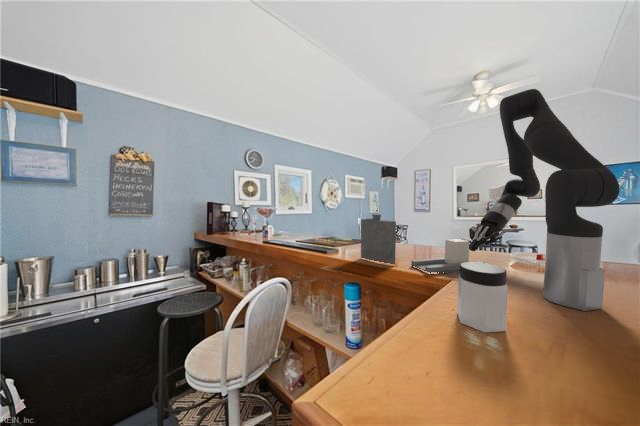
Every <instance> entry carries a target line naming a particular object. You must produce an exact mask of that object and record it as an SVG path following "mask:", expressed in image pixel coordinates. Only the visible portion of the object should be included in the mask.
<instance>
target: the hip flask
mask: <svg viewBox="0 0 640 426" xmlns="http://www.w3.org/2000/svg"><path fill="white" fill-rule="evenodd" d="M371 217H372V218H360V219H361V221H360V259H361V258H365V259H369V260H374V261H379V262H384V263H390V264H395V265H396V245H397V244H396V241H397V240H396V239H397V238H396V237H397V233H396V232H397V231H396V229H397V227H396V226H397V224H396V223H397V221H396V220H386V219H385V220H384V219H381V217H382V214H379V213H374V214H373V213H372V214H371Z"/></svg>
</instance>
